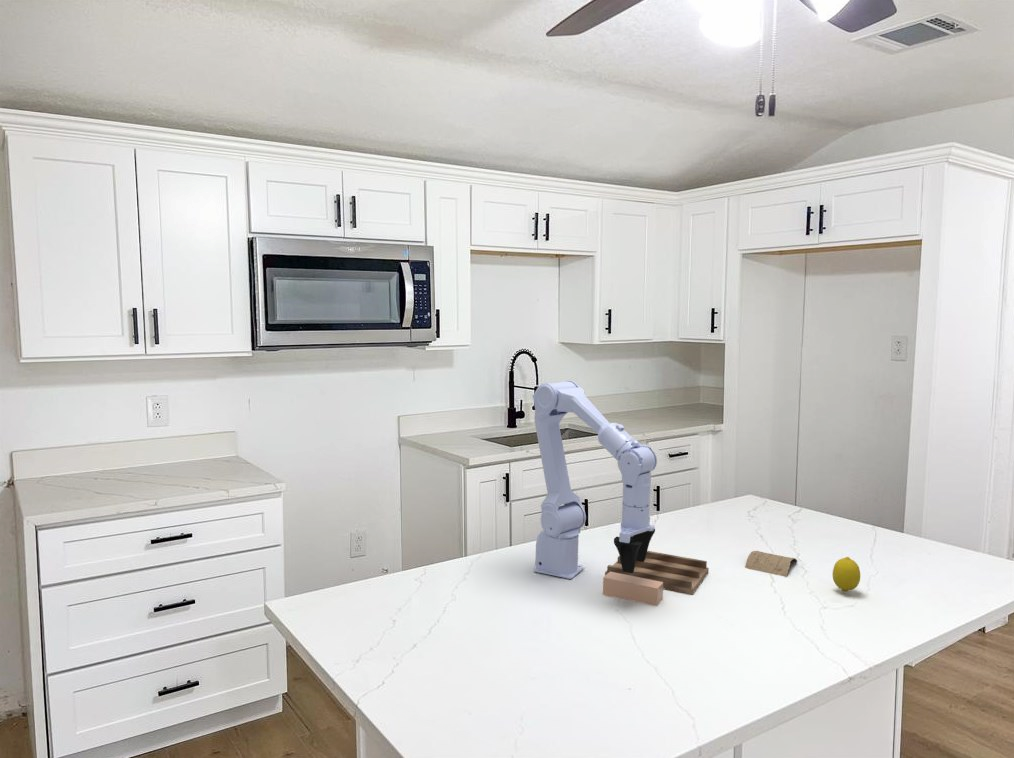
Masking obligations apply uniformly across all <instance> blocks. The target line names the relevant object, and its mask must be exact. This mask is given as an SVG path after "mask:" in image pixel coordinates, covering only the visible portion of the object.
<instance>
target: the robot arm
mask: <svg viewBox="0 0 1014 758" xmlns="http://www.w3.org/2000/svg"><path fill="white" fill-rule="evenodd" d="M585 393H586V392H585V390H584V389H583V388H582V387H581V386H579V385H578V383H577V382H576V381H573V380H566V381H559V382H551V383H548V382H544V383H541V384H540V385H539V386H538V387H537V388H536V390H535V391H534V393H533V394H532V398H533V404H534V405H533V406H534V419H533V420H534V424H535V429H536V430H535V431H536V436H537V442H538V447H539V453H540V454H539V455H540V458H541V464H542V465H541V466H542V471H543V475H544V481H545V486H546V492H547V495H546V496H545V497H544V499H543V501H542V502H541V504H540V509H541V513H540V514H541V515H540V525H541V528H542V529H543V530H541V531H540V532H539V533H538V535H537V538H536V540H535V541H536V542H535V565H534V566H535V568H534V569H533V572H535V573H538V574H544V575H549V576H554V577H559V578H564V579H569V580H572V579H573V578H574V577H576V576H577V575H578V574H579V573H580V572H582V571H583V570H585V567H584V566H583V565H579V536H580V535H579V534H581V529H582V528H583V527H584V526H585V524H586V522H587V521H586V520H587V515H586V511H585V508H584V507H583V506H582V503H581V499H580V498H581V497H580V496H579V495H577V494H576V493H575V491H572V489H571V488H572V487H571V482H570V477H569V476H570V475H569V471H568V465H567V461H566V456H565V455H566V454H565V450H564V445H563V438H562V434H561V426H560V423H561V421H562V420H563V419H564V417H565V416H566V415H567V414H568V413H573V414H575V416H577V417H578V418H579V419H580V420H581V421H582V422H584V423H585V424H586V425H587V426H589V427H590V428H591V429H592V430H593V431H594V432H595V433H597V441H598V443H599V445H601V446H602V447H603V448H604V449H606V451H607V452H608V453H609V454H610V456H611V455H612V457H613V458H614V459H615V460H616V461H617V467H618V470H619V471H620V474H621V481H622V504H621V507H622V508H621V509H622V510H621V522H620V532H619V536H616V537H614V539H613V544H614V547H616V550H617V552H618V556H620V560H621V565H622V569H623V572H628V573H633V572H634V568H635V563H636V561H640V562H644V561H645V558H646V554H647V551H649V550H648V549H649V546H650V542H651V541H652V538H653V536H654V534H655V533H656V527H655V525H652V524H651V516H650V509H651V485H652V484H651V483H652V482H651V481H652V472H653V471H654V470H655V469H656V467H657V463H658V459H657V455H656V453H655V451H654V450H653V449H652V447H651V446H649V445H645V444H643V445H642V444H641V443H640V442H639V441H638V440H637V439H634V438H633V436H631V435H630V434H629V433H628V432H627V431H626V430H625V428H626V427H625V426H623V424H622V423H617V422H609V421H608V419H606V417H605V416H604V415H603V414H602V413H601V412H600V411H599V410H598V408H597V407H596V406H595V405H594V404H593V403H592V402H591V401H590V399H589V398H587V396H586V395H585Z"/></svg>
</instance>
